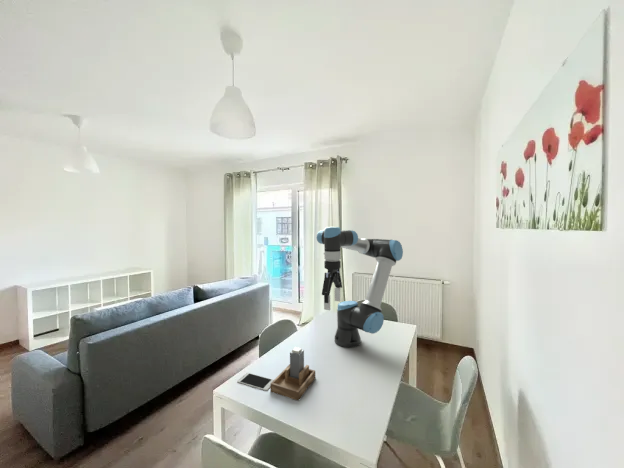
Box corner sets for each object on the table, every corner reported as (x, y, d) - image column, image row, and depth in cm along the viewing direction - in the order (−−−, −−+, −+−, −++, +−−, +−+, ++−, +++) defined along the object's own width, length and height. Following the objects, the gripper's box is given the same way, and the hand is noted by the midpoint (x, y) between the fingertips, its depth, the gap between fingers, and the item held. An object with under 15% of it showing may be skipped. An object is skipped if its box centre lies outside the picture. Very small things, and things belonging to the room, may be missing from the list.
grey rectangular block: (295, 373, 116) (294, 345, 115) (304, 376, 114) (303, 347, 113) (290, 379, 112) (289, 350, 111) (299, 382, 110) (299, 352, 109)
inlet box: (290, 371, 120) (289, 358, 120) (315, 378, 115) (315, 365, 114) (270, 391, 106) (270, 377, 105) (298, 400, 100) (298, 386, 100)
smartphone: (266, 392, 106) (266, 389, 106) (236, 383, 112) (236, 381, 112) (275, 382, 113) (275, 380, 113) (247, 374, 119) (247, 372, 119)
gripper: (334, 256, 132) (334, 296, 133) (313, 263, 110) (314, 312, 111) (348, 257, 129) (348, 298, 130) (330, 264, 106) (330, 315, 107)
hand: (332, 305), depth 120 cm, fingers open, 13 cm apart
